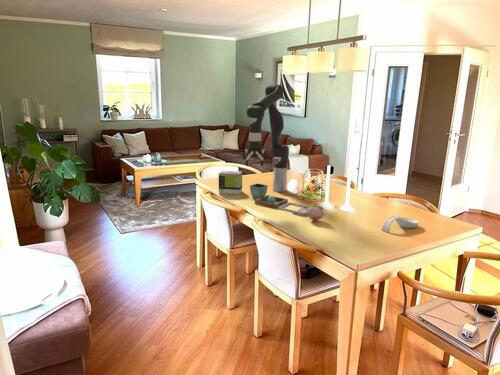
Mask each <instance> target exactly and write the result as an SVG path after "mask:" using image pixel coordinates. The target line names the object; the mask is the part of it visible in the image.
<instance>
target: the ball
mask: <svg viewBox="0 0 500 375" xmlns="http://www.w3.org/2000/svg"><path fill="white" fill-rule="evenodd" d="M275 197H276V196H274V195H270V196H269V197H268V202H269V203H274V202H275Z"/></svg>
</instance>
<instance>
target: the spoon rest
mask: <svg viewBox="0 0 500 375" xmlns="http://www.w3.org/2000/svg"><path fill="white" fill-rule="evenodd" d="M394 221H395V222H396V223H397V225H399V227H400V226H401V227H400V228H403V227H404V229H413V228H415V227H417V226H418V225H419V223H420V221H418V220H416V219H413V218H412V217H405V216H395V215H394V216H389V217H388V218H387V219H386V220H385V221H384V223H382V224H383V225H382V226H381V231H383V232H385V233H388V234H390V232H391V230H390V229H391V225H392V223H394Z"/></svg>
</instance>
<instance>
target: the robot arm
mask: <svg viewBox="0 0 500 375" xmlns="http://www.w3.org/2000/svg"><path fill="white" fill-rule="evenodd" d="M264 93H265V95H264V96H263V97H261V98H260V99H258V100H257V101H256V102H254V103H253V104H250V105H249V106H248V107H247V108H246V113H245V114H246V115H247V117H248V118H250V119H256V120H255V121H252V122H250V123H249V129H248V131H249V133H248V149H246V148H244V149H243V153H242V154H243V155H242V159H243V160H244V161H245V165H246V167H249V159H250V157H255V158H259V159H260V167H263V166H264V161H266V160H267V149H262V124H263V120H264V116H265V111H266V110H268V118H269V126H270V133H271V152H272V156H273V157H274V158H279V159H280V160H279V161H277V162H276V161H275V162H274V164H273V185H272V190H273V191H274V192H277V193H283V192H286V190H287V186H288V184H287V182H288V177H287V173H288V163H289V153H290V148H289V146H288V145H287V144H280V136H281V134H282V133H283V130H284V125H285V124H284V116H283V115H282V112H280V111H279V109H278V108H277V106H276V105H275V103H276V102H277V101H279V100H280V99H282V98H283V96H284V87H283V85H281V84H267V85H266V86H265V91H264ZM247 153H248V155H247V157H246V154H247ZM261 153H263V156H262V154H261Z"/></svg>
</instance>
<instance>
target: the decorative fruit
mask: <svg viewBox="0 0 500 375" xmlns="http://www.w3.org/2000/svg"><path fill="white" fill-rule="evenodd" d="M307 206H308V207H309V208H308V209H307V215H306V216H307V217H308V218H309V219H310V220H312V221H313V222H316V221H318V220H321V219H322V218H323V217H324V207H323V206H322V205H317V203H315V204H309V205H307Z"/></svg>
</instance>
